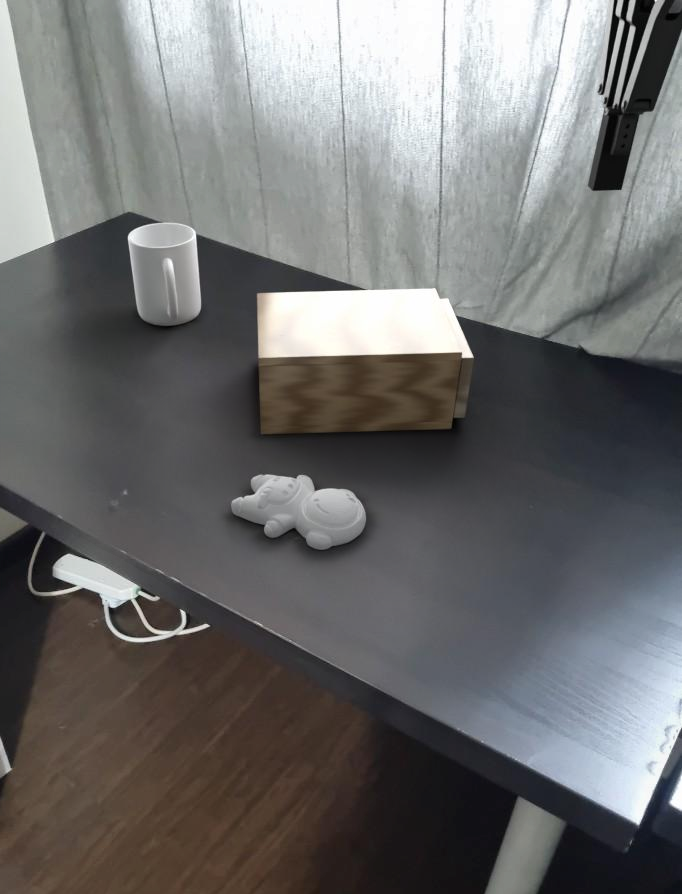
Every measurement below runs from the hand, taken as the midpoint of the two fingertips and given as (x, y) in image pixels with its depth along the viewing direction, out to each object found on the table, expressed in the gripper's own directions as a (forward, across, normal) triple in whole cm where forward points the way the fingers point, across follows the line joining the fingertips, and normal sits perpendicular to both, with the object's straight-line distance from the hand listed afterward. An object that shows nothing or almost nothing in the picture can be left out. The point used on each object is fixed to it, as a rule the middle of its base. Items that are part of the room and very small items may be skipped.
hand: (604, 187), depth 77 cm
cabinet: (+21, 0, -23) cm, 32 cm away
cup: (+21, -20, -44) cm, 53 cm away
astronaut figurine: (+22, +21, -30) cm, 42 cm away
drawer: (+20, 0, -21) cm, 29 cm away
